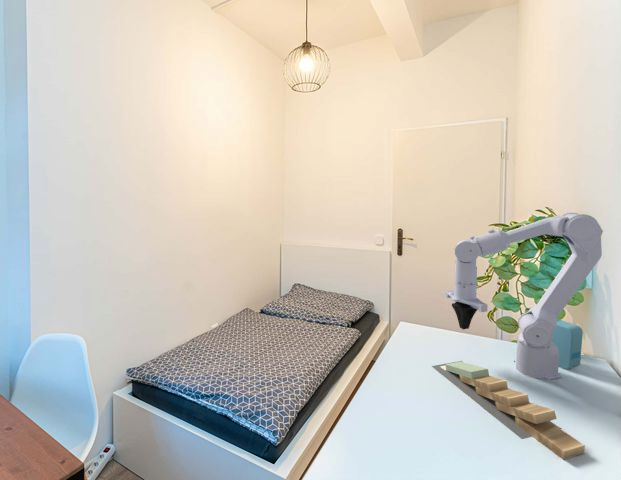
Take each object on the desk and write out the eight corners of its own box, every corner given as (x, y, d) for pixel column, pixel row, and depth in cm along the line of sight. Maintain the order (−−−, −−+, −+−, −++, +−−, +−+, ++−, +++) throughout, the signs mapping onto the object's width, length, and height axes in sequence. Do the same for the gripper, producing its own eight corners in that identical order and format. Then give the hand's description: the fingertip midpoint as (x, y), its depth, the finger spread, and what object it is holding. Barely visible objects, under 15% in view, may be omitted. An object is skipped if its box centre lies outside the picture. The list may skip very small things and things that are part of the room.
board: (461, 363, 93) (461, 360, 93) (561, 432, 66) (561, 428, 65) (431, 368, 91) (431, 365, 91) (521, 442, 63) (521, 438, 63)
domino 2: (475, 386, 78) (508, 398, 68) (492, 383, 79) (527, 394, 70) (476, 393, 78) (510, 406, 68) (493, 389, 79) (529, 402, 69)
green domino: (445, 364, 89) (471, 372, 79) (460, 361, 90) (487, 368, 80) (446, 370, 88) (472, 378, 79) (461, 367, 90) (489, 375, 80)
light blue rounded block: (580, 368, 89) (583, 326, 88) (569, 371, 88) (572, 329, 86) (536, 349, 100) (539, 312, 99) (526, 352, 99) (528, 315, 97)
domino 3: (495, 401, 72) (534, 415, 63) (513, 397, 73) (554, 410, 64) (496, 409, 72) (536, 424, 62) (514, 404, 73) (556, 418, 64)
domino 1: (459, 374, 83) (488, 384, 74) (475, 371, 85) (506, 380, 75) (460, 381, 83) (489, 391, 74) (476, 378, 84) (507, 388, 75)
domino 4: (515, 415, 67) (563, 451, 58) (534, 411, 68) (584, 445, 59) (514, 423, 67) (563, 459, 58) (533, 418, 69) (584, 453, 59)
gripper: (437, 277, 97) (436, 321, 99) (472, 290, 83) (470, 340, 85) (457, 275, 99) (456, 318, 101) (494, 287, 85) (493, 336, 87)
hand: (464, 328), depth 93 cm, fingers closed
